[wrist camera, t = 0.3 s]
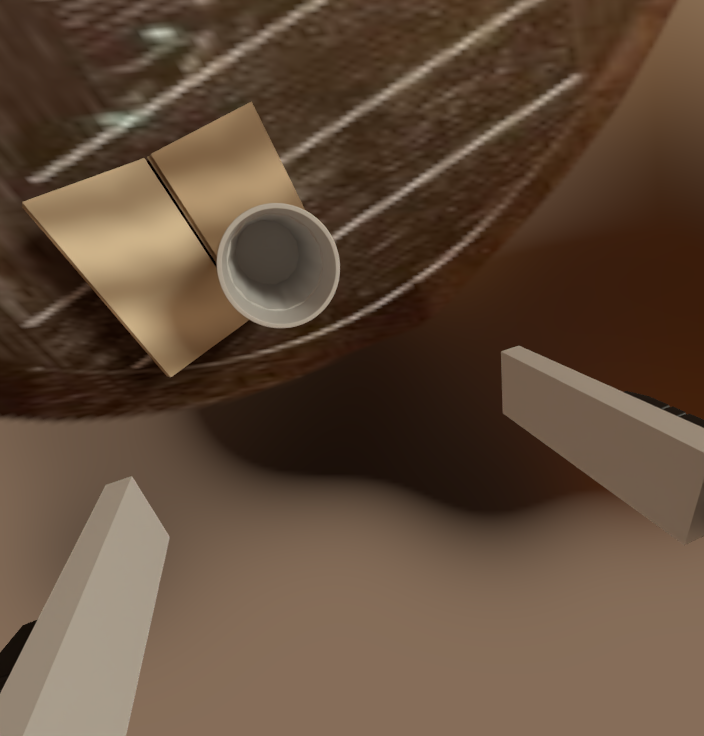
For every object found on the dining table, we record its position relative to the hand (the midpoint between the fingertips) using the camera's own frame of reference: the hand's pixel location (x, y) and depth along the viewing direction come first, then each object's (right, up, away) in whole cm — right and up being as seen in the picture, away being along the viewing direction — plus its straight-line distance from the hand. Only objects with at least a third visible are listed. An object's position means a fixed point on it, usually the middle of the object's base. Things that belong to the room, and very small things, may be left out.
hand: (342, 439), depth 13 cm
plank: (-16, +10, +18) cm, 26 cm away
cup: (-8, +14, +22) cm, 27 cm away
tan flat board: (-9, +16, +20) cm, 27 cm away
